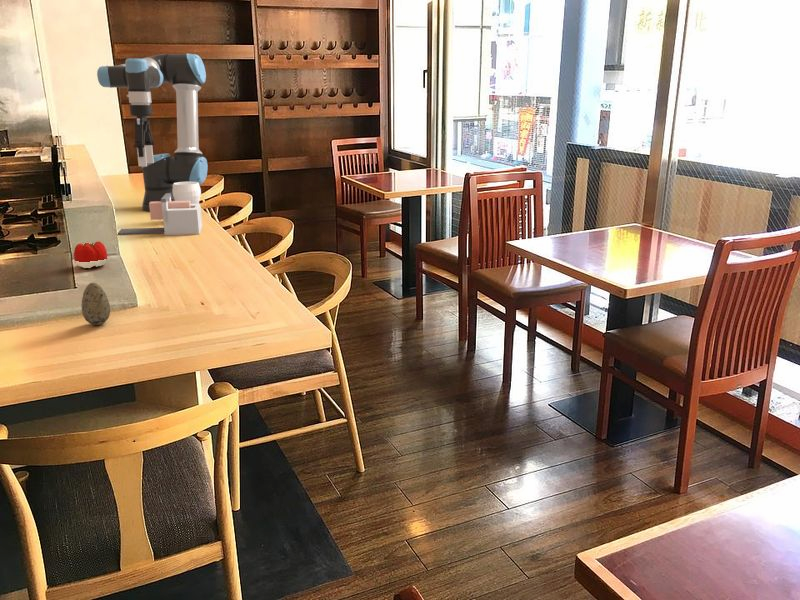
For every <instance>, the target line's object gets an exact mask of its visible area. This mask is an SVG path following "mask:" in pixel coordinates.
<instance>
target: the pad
mask: <svg viewBox="0 0 800 600" xmlns="http://www.w3.org/2000/svg"><path fill="white" fill-rule="evenodd" d="M117 233H118V235H117V236H127V235H154V234H165V232H164V226H162V227H140V228H138V227H137V228H136V227H135V228H121V229H119V231H118V232H117Z"/></svg>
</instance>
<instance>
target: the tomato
mask: <svg viewBox="0 0 800 600" xmlns="http://www.w3.org/2000/svg"><path fill="white" fill-rule="evenodd" d="M91 243H92V244H89V243H85V244H84V245H83V243H78V244H77V245H75V247H74V250H73V258H74V262H75V261H79V262H90V261H98V260H104V259H107V260H108V252H107V249H106V246H105V244H104V243H102V242H101V241H98V240H97V241H95V242H91ZM93 244H94V245H93Z"/></svg>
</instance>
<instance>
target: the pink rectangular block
mask: <svg viewBox="0 0 800 600" xmlns="http://www.w3.org/2000/svg"><path fill="white" fill-rule="evenodd" d="M149 208H150V211H149V214H150V220H154V221H155V220H160V221H161V220H163V213H162V204H161V201H154V202H150V203H149ZM173 208H191V203H190V201H168V209H173Z"/></svg>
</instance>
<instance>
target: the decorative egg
mask: <svg viewBox="0 0 800 600" xmlns="http://www.w3.org/2000/svg"><path fill="white" fill-rule="evenodd" d="M110 305H111V304H110V301H109V298H108V296H107V294H106V292H105V291H104V289H103V288H102V287H101V285H100V284H98V283H96V282H91V283H89V284H88V285H86V287H85V289H84V291H83V294H82V299H81V312H82V314H81V315H82V316H83V318H84V320H85V321H86V322H87V323H88V324H91V325H93V326H99V325H103V324H105V323H106V322H107V321H108V319H109V318H110V315H111V306H110Z"/></svg>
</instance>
